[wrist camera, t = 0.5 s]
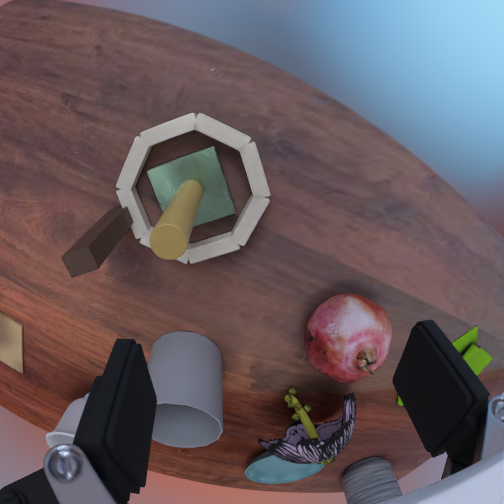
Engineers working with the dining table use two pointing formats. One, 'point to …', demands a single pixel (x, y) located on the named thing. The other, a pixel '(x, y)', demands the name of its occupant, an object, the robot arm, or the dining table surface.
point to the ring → (132, 211)
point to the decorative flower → (313, 434)
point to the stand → (187, 199)
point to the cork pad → (11, 342)
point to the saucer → (278, 469)
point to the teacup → (67, 424)
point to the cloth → (469, 353)
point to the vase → (370, 482)
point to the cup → (186, 389)
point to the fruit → (347, 337)
